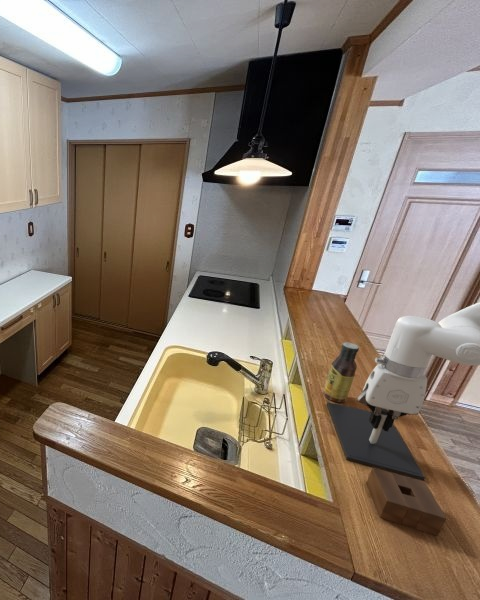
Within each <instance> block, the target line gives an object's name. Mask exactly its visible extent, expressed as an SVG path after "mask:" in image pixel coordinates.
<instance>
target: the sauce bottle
mask: <svg viewBox="0 0 480 600" xmlns="http://www.w3.org/2000/svg"><path fill="white" fill-rule="evenodd" d="M359 349H360V346H359V345H358V344H355V343H353V342H347V341H346V342H343V343H342V344H341V350H340V353H339V354H338V355H337V357H335V359H334V360H333V361H332V362H331V364H330V368H329V371H328V374H327V377H326V381H325V384H324V386H323V396H324V397H325V398H326V399H327V400H329V401H332V402H336V403H344V402H345V401H346V400H347V398H348V396H349V393H350V391H351V387H352V385H353V382H354V379H355V375H356V371H357V368H358V367H357V366H358V365H357V362H356V356H357V353H358V352H359V351H360V350H359Z"/></svg>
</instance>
